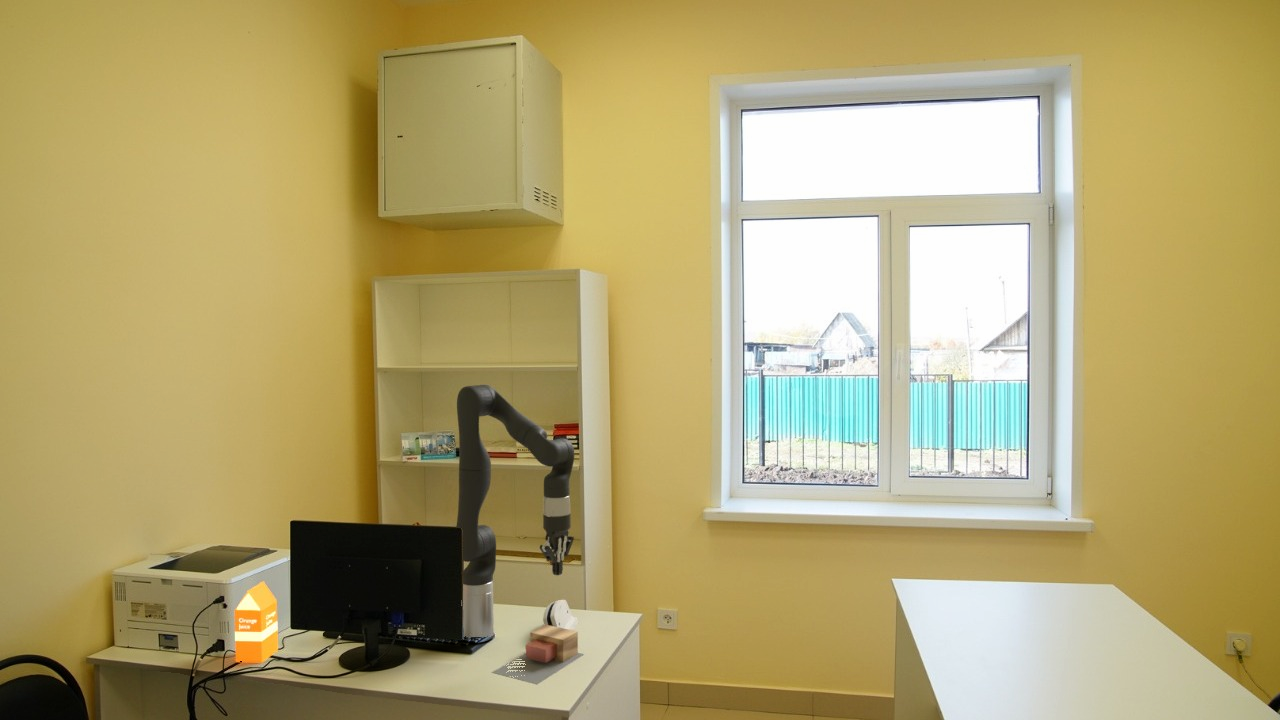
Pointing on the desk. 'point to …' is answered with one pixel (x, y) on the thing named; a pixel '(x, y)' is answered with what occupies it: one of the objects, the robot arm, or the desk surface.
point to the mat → (534, 669)
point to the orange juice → (256, 625)
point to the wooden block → (558, 640)
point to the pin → (541, 650)
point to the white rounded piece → (559, 615)
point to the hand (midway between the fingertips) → (557, 574)
